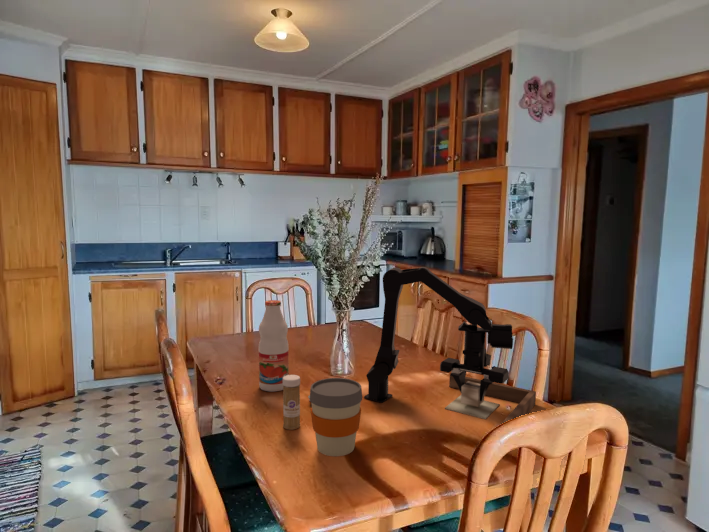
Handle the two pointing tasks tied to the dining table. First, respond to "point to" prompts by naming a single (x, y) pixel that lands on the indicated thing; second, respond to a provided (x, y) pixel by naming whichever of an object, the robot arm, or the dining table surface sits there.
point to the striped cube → (471, 394)
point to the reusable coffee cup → (335, 414)
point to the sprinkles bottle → (291, 402)
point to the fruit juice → (273, 348)
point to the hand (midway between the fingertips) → (472, 398)
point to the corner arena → (486, 408)
